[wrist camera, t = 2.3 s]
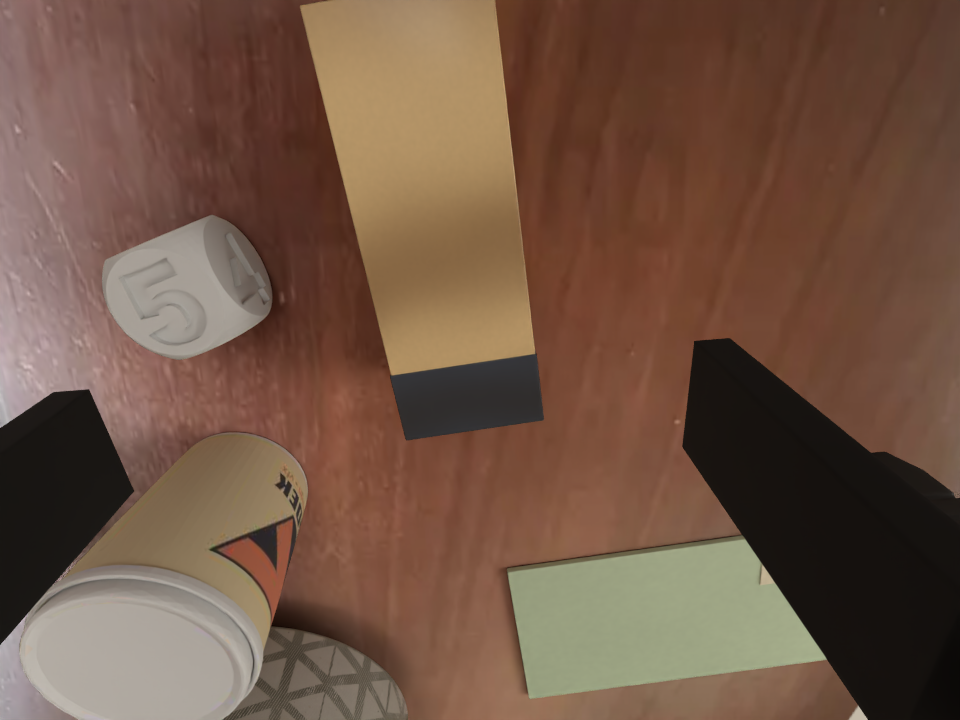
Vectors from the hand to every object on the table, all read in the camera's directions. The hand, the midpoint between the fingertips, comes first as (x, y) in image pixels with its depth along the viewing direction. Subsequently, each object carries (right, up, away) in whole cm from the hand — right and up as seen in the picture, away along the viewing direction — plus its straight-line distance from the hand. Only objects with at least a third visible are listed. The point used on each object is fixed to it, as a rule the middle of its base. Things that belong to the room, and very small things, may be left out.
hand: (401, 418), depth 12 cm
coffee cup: (-13, -6, +21) cm, 25 cm away
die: (-12, +6, +15) cm, 20 cm away
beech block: (0, +8, +14) cm, 16 cm away
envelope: (+17, -17, +27) cm, 36 cm away
